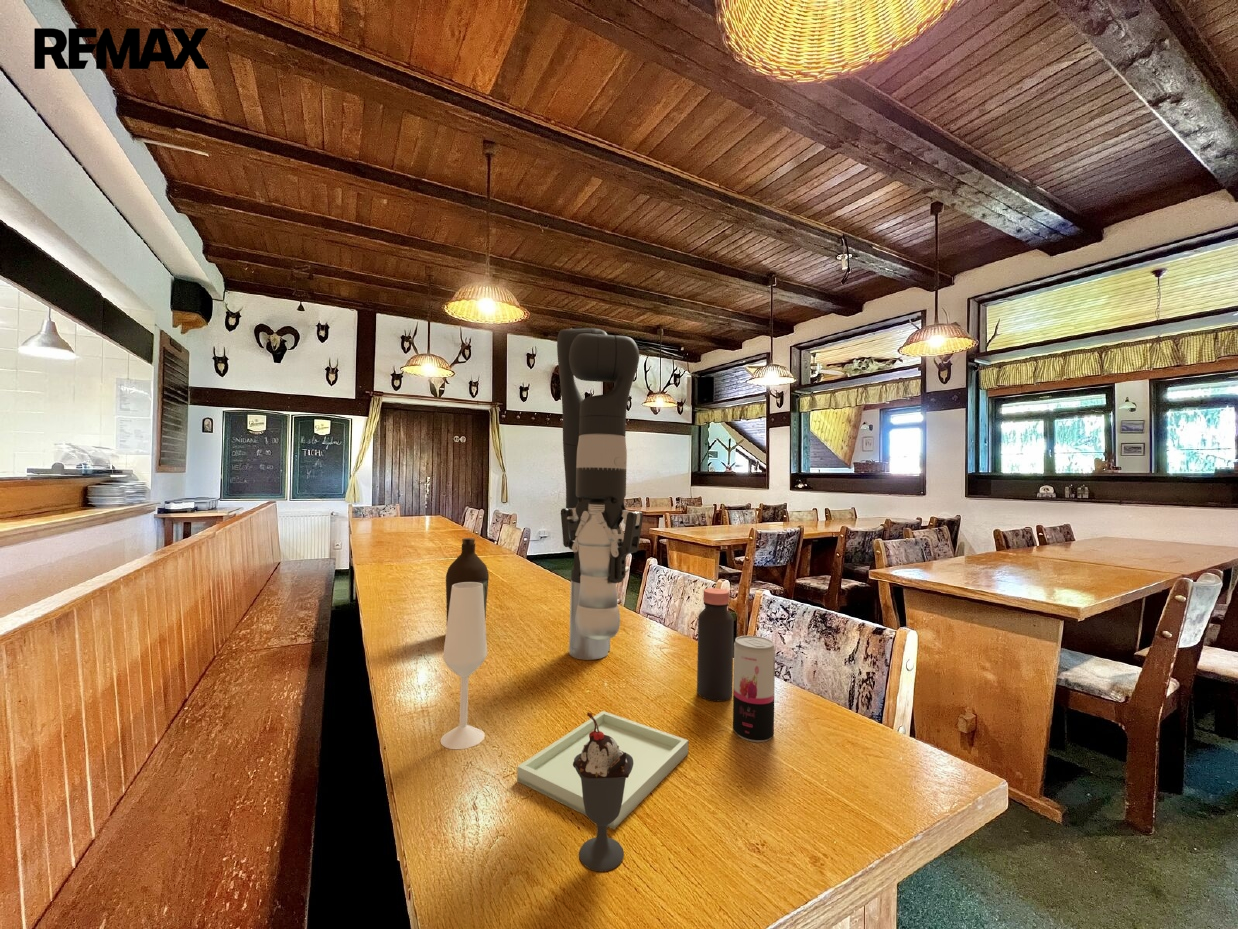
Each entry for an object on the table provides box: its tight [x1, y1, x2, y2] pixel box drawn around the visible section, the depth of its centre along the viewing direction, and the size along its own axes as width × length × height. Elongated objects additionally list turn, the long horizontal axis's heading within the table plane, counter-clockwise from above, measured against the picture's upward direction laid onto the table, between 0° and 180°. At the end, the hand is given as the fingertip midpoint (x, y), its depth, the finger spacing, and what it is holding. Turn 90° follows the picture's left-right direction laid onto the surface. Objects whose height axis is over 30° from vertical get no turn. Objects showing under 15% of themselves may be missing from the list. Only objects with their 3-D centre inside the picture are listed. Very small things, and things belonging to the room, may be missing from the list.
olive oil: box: [445, 537, 489, 622], centre depth 128 cm, size 11×11×25 cm
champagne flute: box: [440, 582, 488, 750], centre depth 79 cm, size 7×7×24 cm
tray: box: [516, 710, 689, 830], centre depth 71 cm, size 20×16×2 cm
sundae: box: [573, 712, 634, 872], centre depth 55 cm, size 7×7×15 cm
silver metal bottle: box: [575, 502, 621, 640], centre depth 74 cm, size 6×7×20 cm
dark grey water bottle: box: [696, 587, 735, 702], centre depth 97 cm, size 7×7×20 cm
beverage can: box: [732, 635, 776, 743], centre depth 82 cm, size 7×6×15 cm
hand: (598, 579), depth 74 cm, fingers closed on silver metal bottle, 6 cm apart
